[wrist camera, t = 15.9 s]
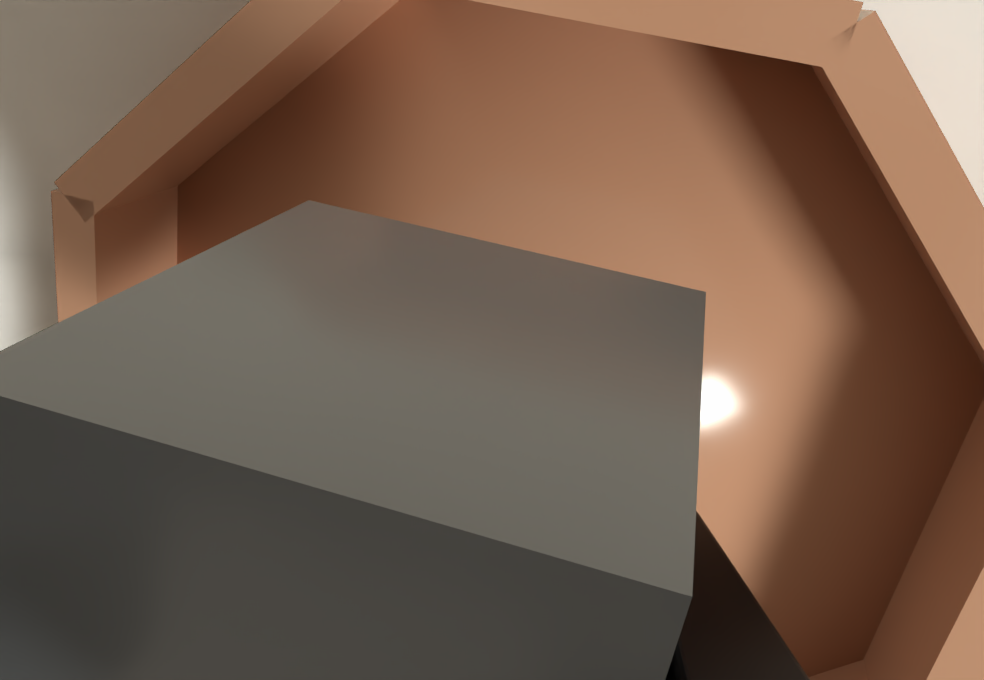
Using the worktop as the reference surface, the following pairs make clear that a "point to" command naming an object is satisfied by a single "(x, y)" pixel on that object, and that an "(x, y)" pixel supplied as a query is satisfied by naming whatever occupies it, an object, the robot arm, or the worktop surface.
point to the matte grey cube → (354, 466)
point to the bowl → (642, 249)
